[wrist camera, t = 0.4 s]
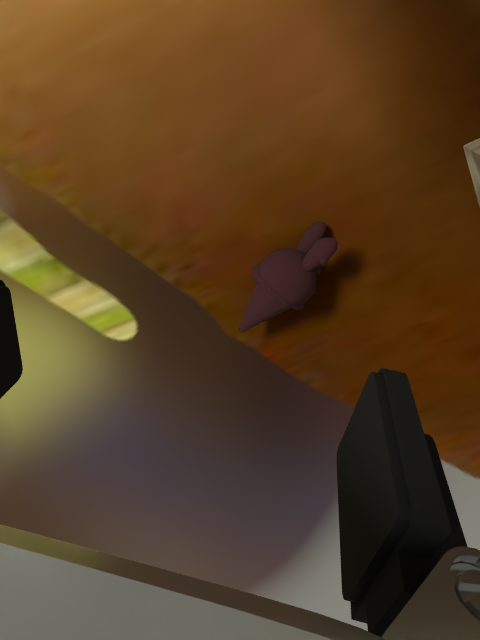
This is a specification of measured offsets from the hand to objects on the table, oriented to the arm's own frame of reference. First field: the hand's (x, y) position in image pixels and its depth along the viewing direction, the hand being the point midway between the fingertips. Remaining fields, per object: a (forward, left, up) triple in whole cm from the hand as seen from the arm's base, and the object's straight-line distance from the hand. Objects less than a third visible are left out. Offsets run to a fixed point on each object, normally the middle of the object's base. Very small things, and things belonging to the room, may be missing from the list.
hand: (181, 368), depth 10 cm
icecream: (+13, +1, -35) cm, 37 cm away
